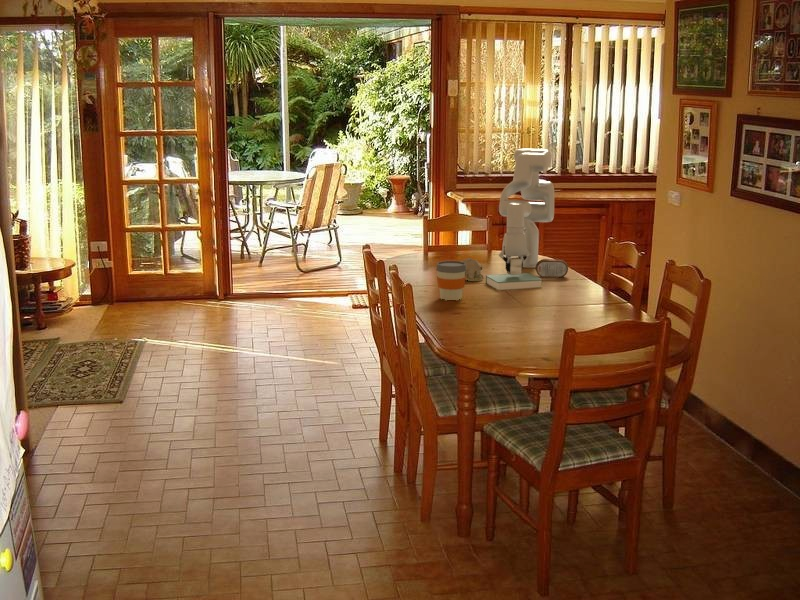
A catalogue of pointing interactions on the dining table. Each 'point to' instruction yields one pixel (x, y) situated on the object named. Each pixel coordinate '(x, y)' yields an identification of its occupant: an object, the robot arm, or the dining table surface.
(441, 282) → the reusable coffee cup
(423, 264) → the dining table surface
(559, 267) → the tin
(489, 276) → the book
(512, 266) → the block
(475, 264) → the ceramic model
